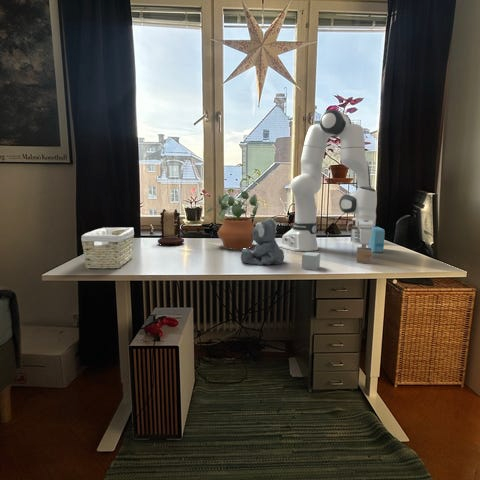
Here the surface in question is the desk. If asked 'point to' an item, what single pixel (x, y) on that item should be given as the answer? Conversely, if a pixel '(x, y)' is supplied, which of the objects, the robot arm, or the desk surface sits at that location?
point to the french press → (354, 234)
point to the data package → (377, 240)
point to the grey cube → (310, 260)
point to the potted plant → (236, 222)
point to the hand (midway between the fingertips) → (363, 250)
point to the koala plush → (264, 245)
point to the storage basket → (108, 247)
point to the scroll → (170, 228)
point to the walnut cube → (363, 255)
